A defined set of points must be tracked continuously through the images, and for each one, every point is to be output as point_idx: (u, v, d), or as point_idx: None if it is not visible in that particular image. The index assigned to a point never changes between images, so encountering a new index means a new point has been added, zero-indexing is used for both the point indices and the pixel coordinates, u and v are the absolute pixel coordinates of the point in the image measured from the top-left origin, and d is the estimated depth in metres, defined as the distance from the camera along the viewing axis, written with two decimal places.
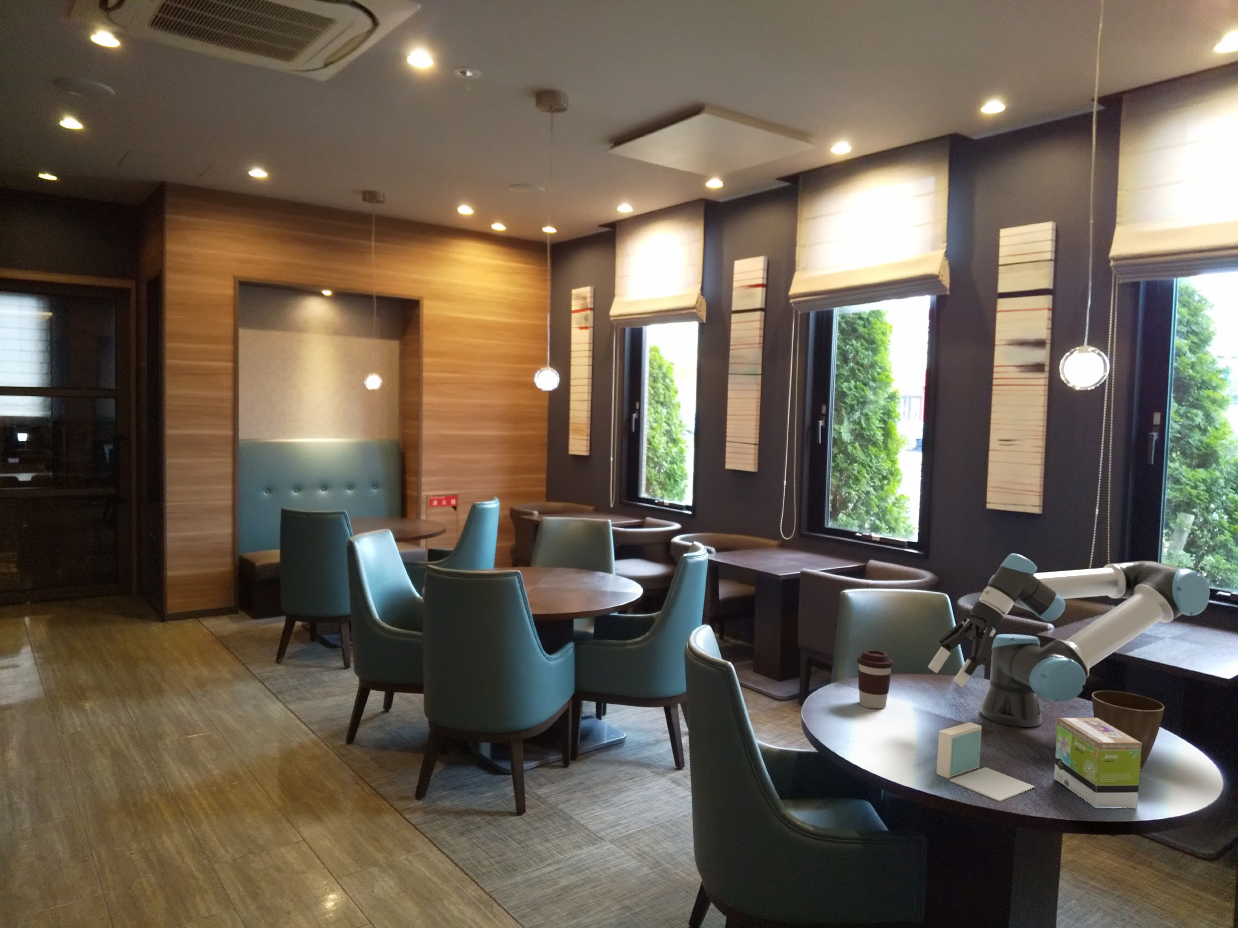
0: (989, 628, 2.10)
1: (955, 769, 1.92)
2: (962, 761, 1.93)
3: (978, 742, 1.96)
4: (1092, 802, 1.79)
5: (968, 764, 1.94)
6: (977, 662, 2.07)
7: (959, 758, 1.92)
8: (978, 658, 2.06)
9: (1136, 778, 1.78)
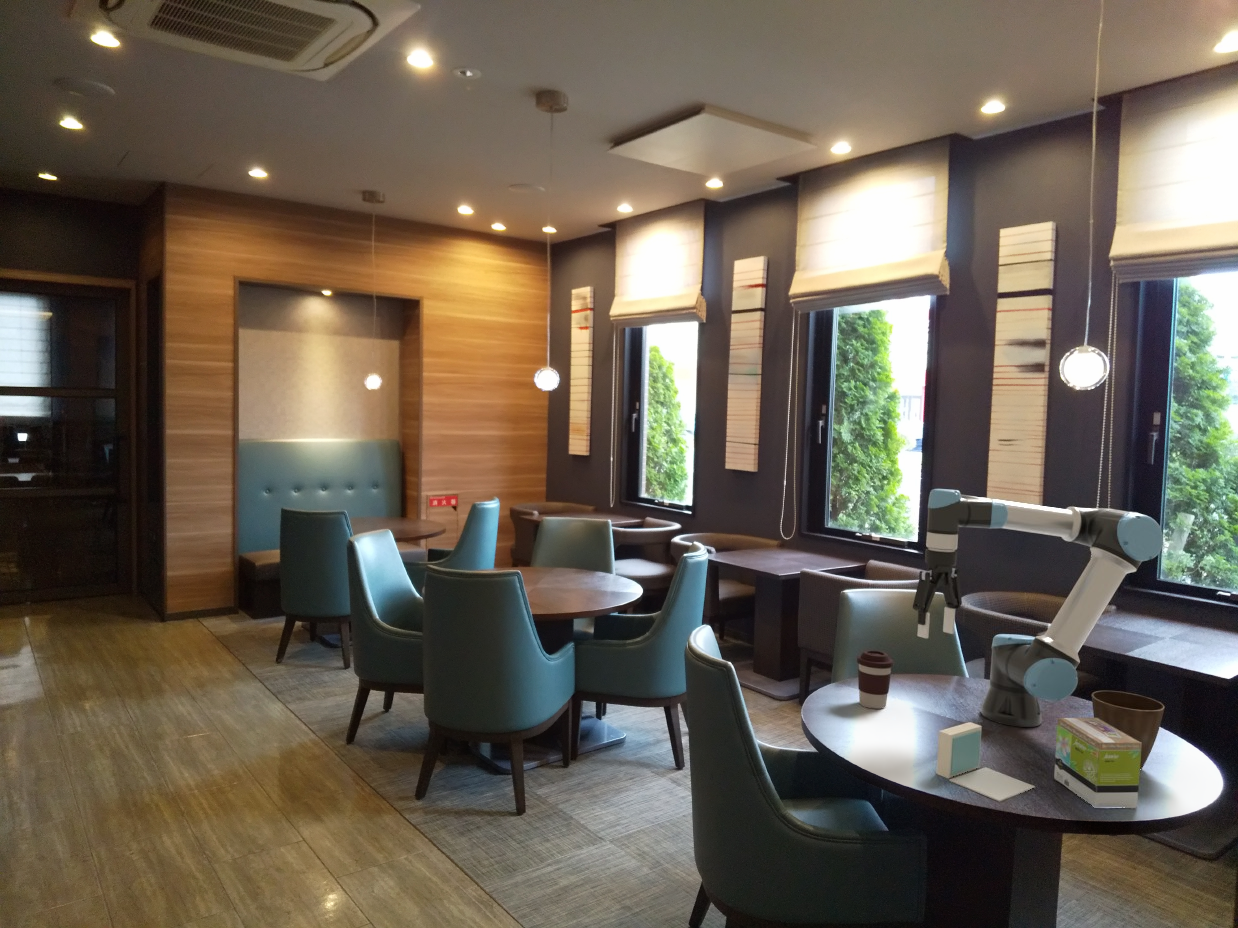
0: None
1: (955, 769, 1.92)
2: (962, 761, 1.93)
3: (978, 742, 1.96)
4: (1092, 802, 1.79)
5: (968, 764, 1.94)
6: (918, 610, 2.13)
7: (959, 758, 1.92)
8: (913, 607, 2.14)
9: (1136, 778, 1.78)
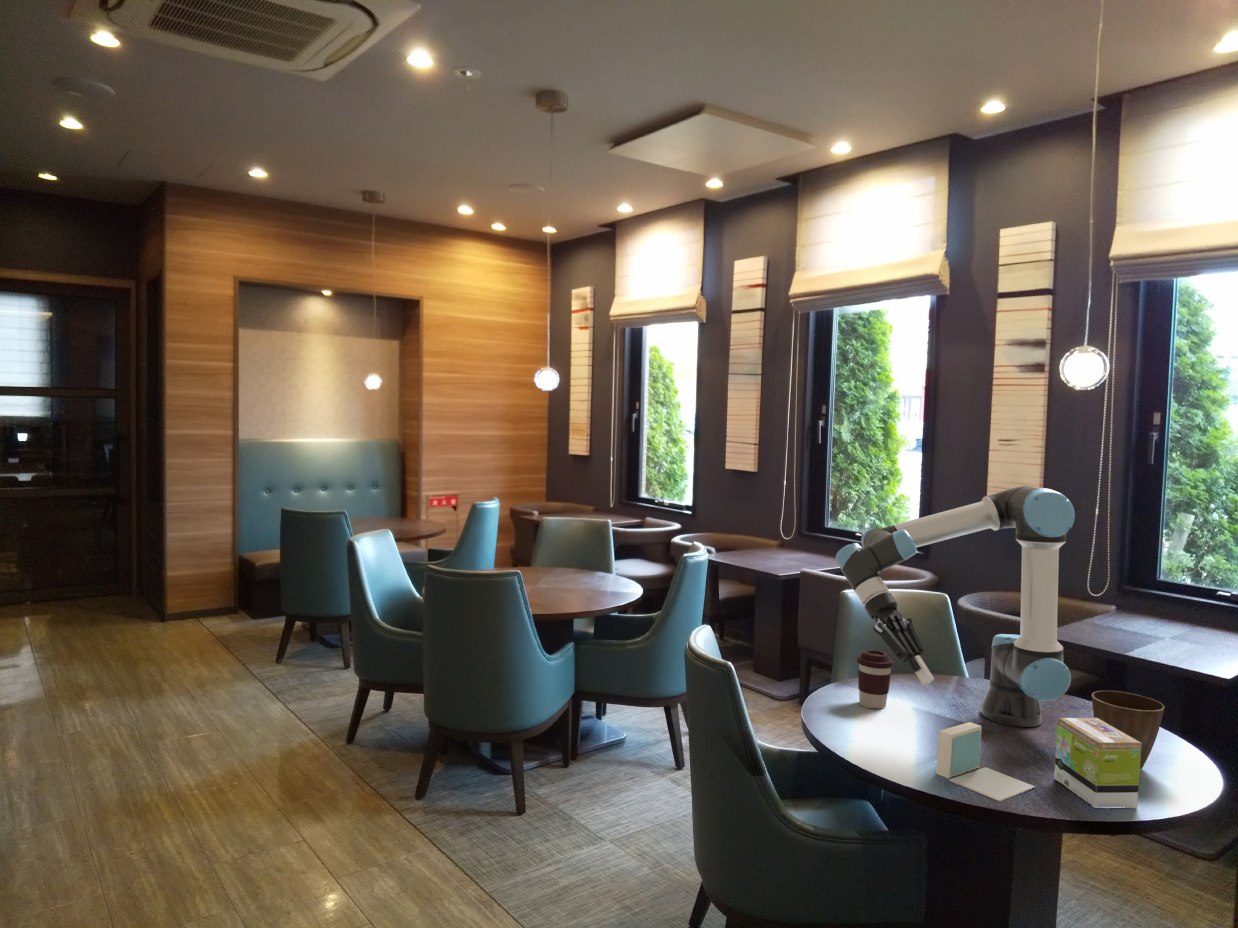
0: None
1: (955, 769, 1.92)
2: (962, 761, 1.93)
3: (978, 742, 1.96)
4: (1092, 802, 1.79)
5: (968, 764, 1.94)
6: (906, 658, 2.04)
7: (959, 758, 1.92)
8: (900, 658, 2.05)
9: (1136, 778, 1.78)
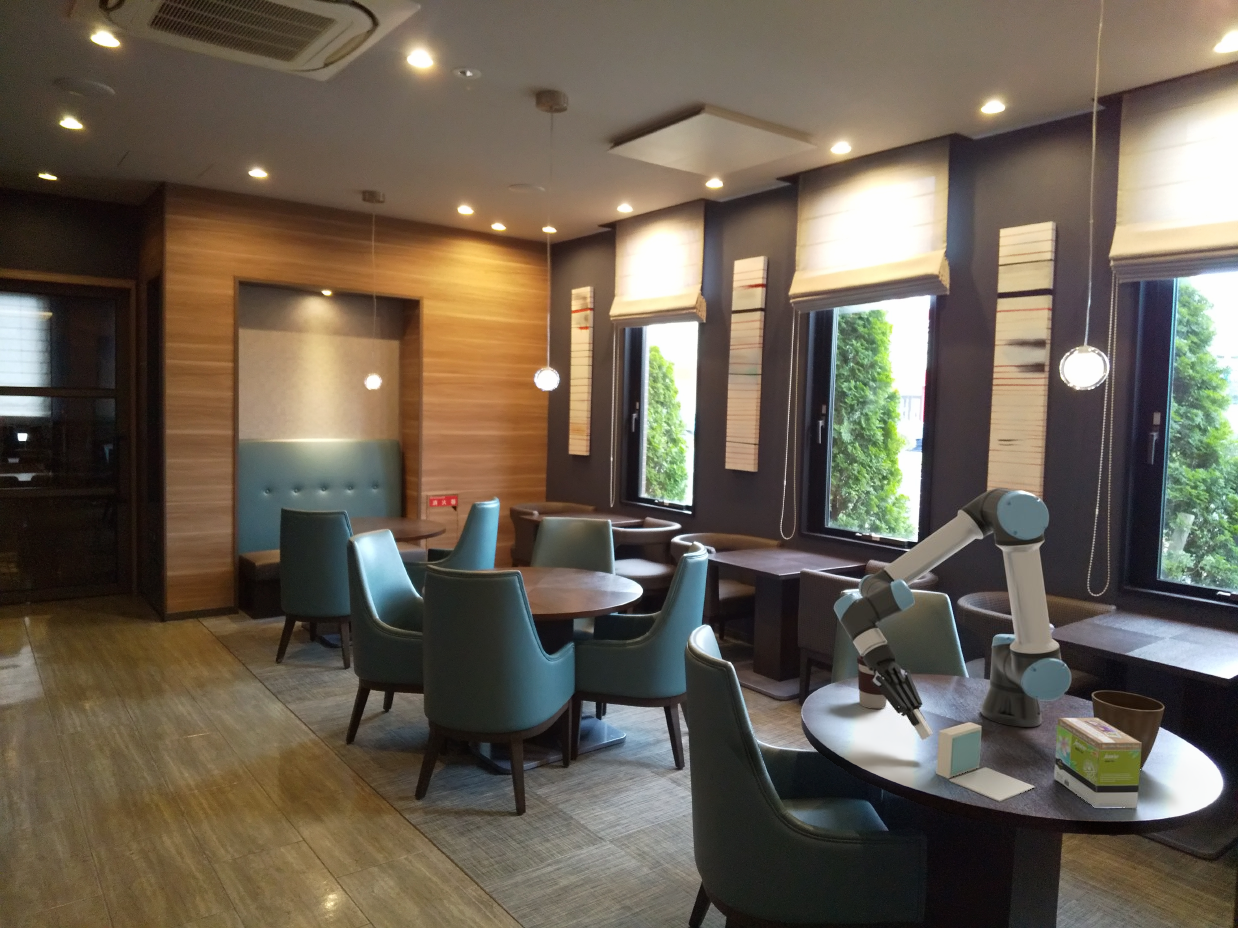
0: None
1: (955, 769, 1.92)
2: (962, 761, 1.93)
3: (978, 742, 1.96)
4: (1092, 802, 1.79)
5: (968, 764, 1.94)
6: (904, 712, 2.04)
7: (959, 758, 1.92)
8: (898, 712, 2.05)
9: (1136, 778, 1.78)
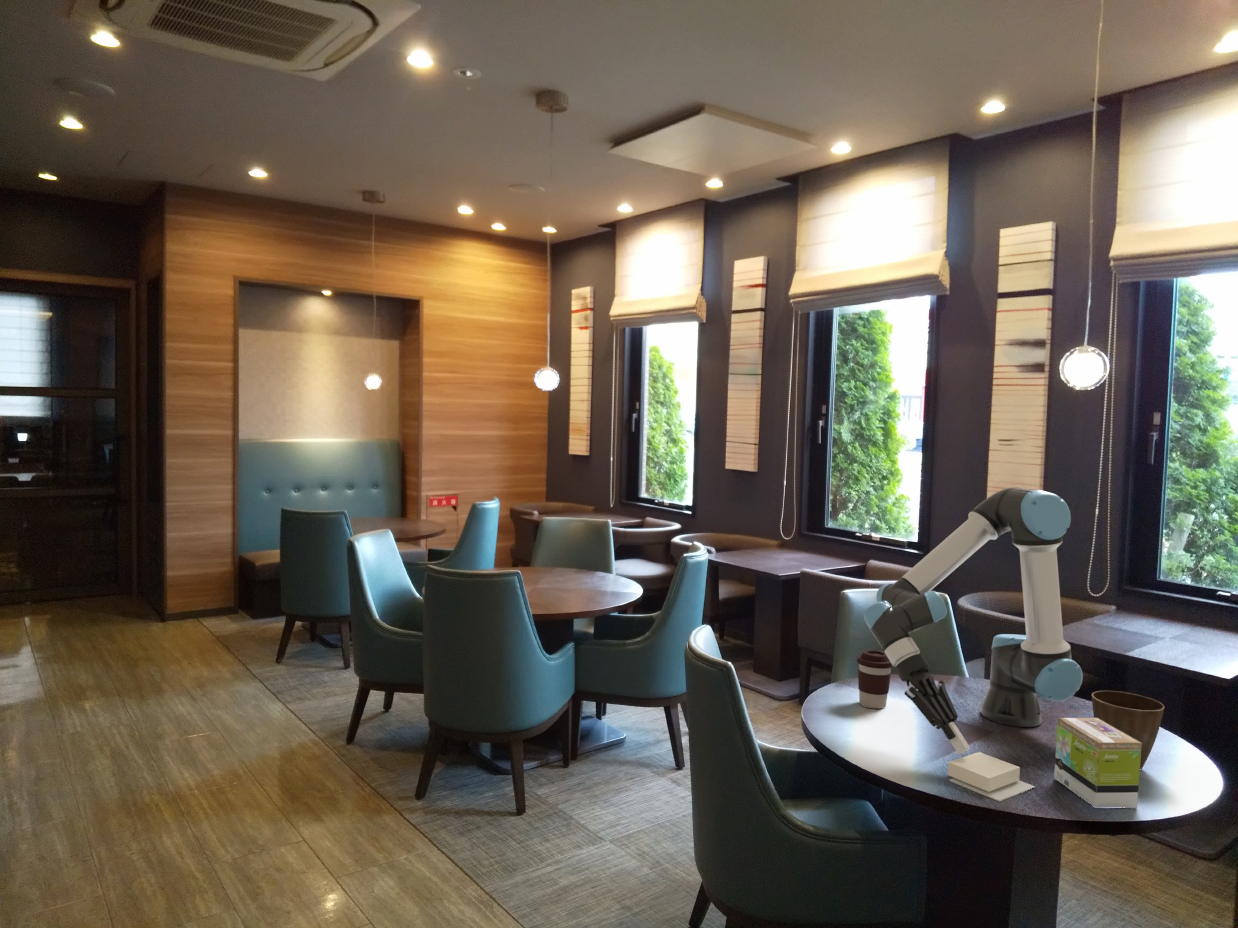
0: None
1: None
2: None
3: None
4: (1092, 802, 1.79)
5: None
6: (939, 725, 1.96)
7: None
8: None
9: (1136, 778, 1.78)
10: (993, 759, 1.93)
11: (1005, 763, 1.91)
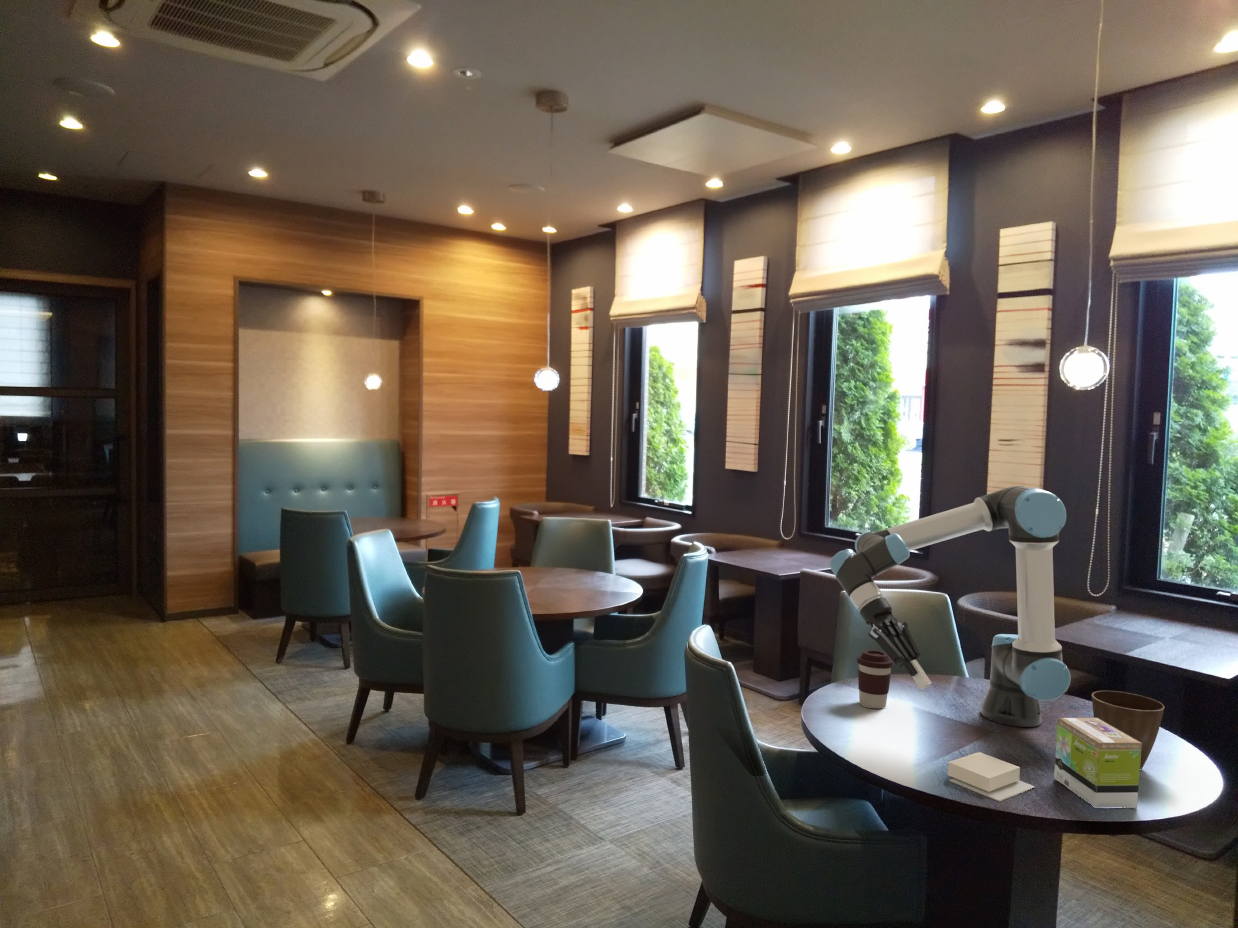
0: None
1: None
2: None
3: None
4: (1092, 802, 1.79)
5: None
6: (902, 663, 2.05)
7: None
8: (896, 663, 2.05)
9: (1136, 778, 1.78)
10: (993, 759, 1.93)
11: (1005, 763, 1.91)
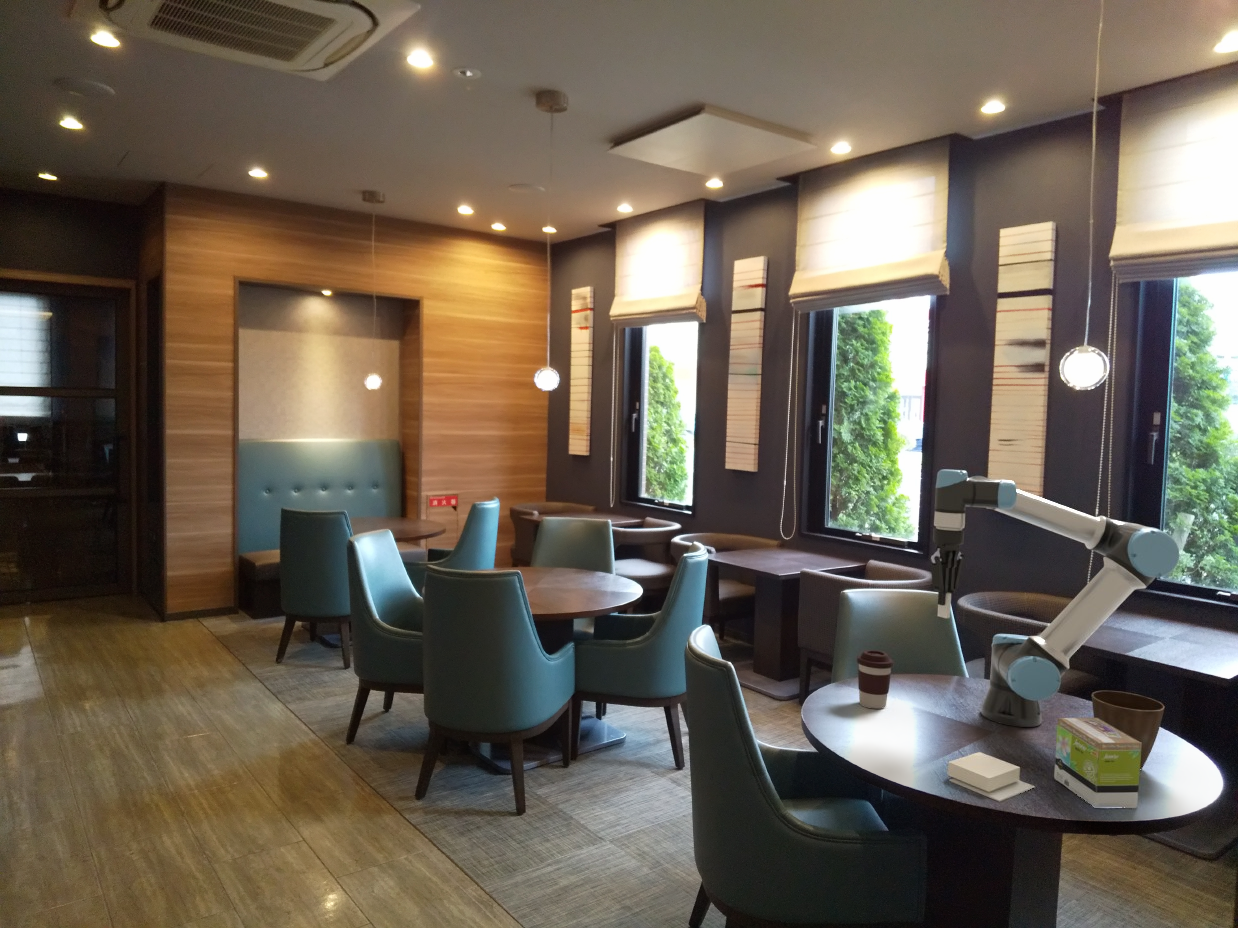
0: None
1: None
2: None
3: None
4: (1092, 802, 1.79)
5: None
6: (938, 591, 2.22)
7: None
8: None
9: (1136, 778, 1.78)
10: (993, 759, 1.93)
11: (1005, 763, 1.91)
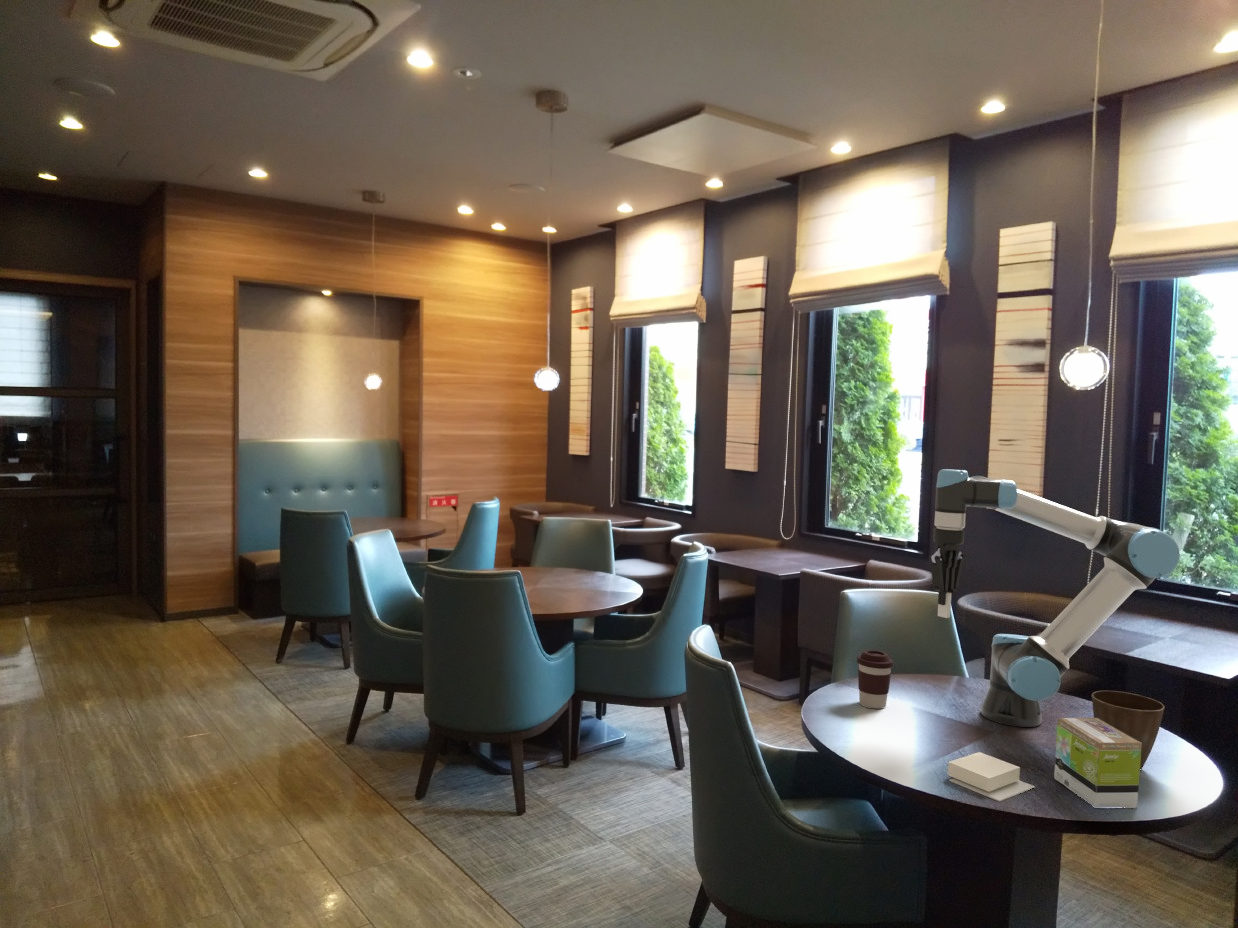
0: None
1: None
2: None
3: None
4: (1092, 802, 1.79)
5: None
6: (938, 591, 2.22)
7: None
8: None
9: (1136, 779, 1.78)
10: (993, 759, 1.93)
11: (1005, 763, 1.91)
